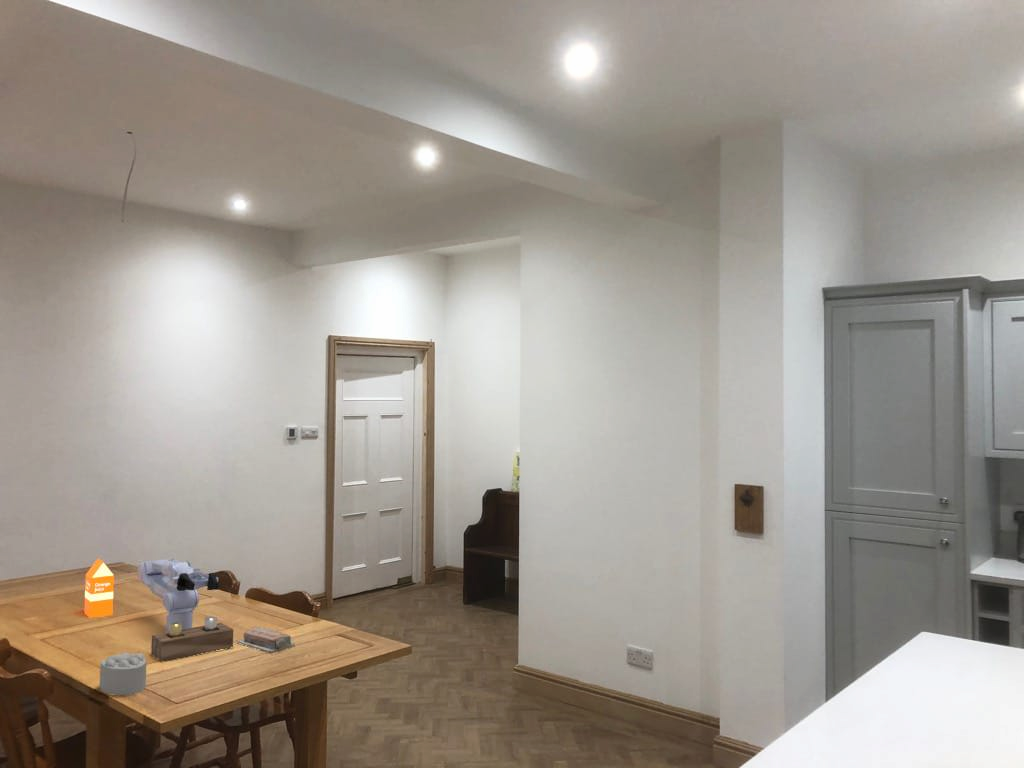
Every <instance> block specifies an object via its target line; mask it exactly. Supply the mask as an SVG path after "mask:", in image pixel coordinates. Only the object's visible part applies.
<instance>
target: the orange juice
mask: <svg viewBox="0 0 1024 768" xmlns="http://www.w3.org/2000/svg"><path fill="white" fill-rule="evenodd" d="M114 582H115V575H114V573H113V572H112V571H111V570H110V568H109V567H108V566H107V565H106V564H105V562H104V561H103V560H101V559H100V558H97V559H96V560H95V562H94V563H93V565H92V566H91V567H90V568H89V570H88V571H87V572H86V573H85V585H84V586H85V589H84V614H85V615H86V616H87V617H88V618H90V619H92V618H100V617H107V616H113V612H114V611H113V606H114V585H115V584H114Z"/></svg>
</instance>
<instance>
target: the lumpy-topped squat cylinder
mask: <svg viewBox="0 0 1024 768" xmlns="http://www.w3.org/2000/svg"><path fill="white" fill-rule="evenodd" d="M146 685H147V658H145V657H144V654H142V653H141V652H137V653H135V654H132V653H129V652H122V653H119V654H112V655H110V656H108V657H107V658H104V659H102V660H101V662H100V670H99V690H100V691H101V692H102V691H103V692H102V693H104V694H105V693H106V694H105V695H108V694H114V695H113V696H115V695H125V696H130V695H129V694H133V695H136V694H135V693H137V694H139V693H141V692H143V691H144V690H145V689H146V687H147V686H146ZM145 686H146V687H145ZM142 690H143V691H142ZM140 691H141V692H140ZM138 692H139V693H138Z"/></svg>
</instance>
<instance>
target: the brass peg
mask: <svg viewBox="0 0 1024 768" xmlns="http://www.w3.org/2000/svg"><path fill="white" fill-rule="evenodd" d="M180 636H182V623H180V622H175V623H171V624H170V627H169V638H174V637H180Z"/></svg>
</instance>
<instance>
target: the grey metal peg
mask: <svg viewBox="0 0 1024 768" xmlns="http://www.w3.org/2000/svg"><path fill="white" fill-rule="evenodd" d="M217 619H218V618H217V616H208V617H207V616H206V617H205V618H204V626H205V632H208V631H214V630H216V629H217V623H218V622H217V621H218V620H217Z"/></svg>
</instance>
